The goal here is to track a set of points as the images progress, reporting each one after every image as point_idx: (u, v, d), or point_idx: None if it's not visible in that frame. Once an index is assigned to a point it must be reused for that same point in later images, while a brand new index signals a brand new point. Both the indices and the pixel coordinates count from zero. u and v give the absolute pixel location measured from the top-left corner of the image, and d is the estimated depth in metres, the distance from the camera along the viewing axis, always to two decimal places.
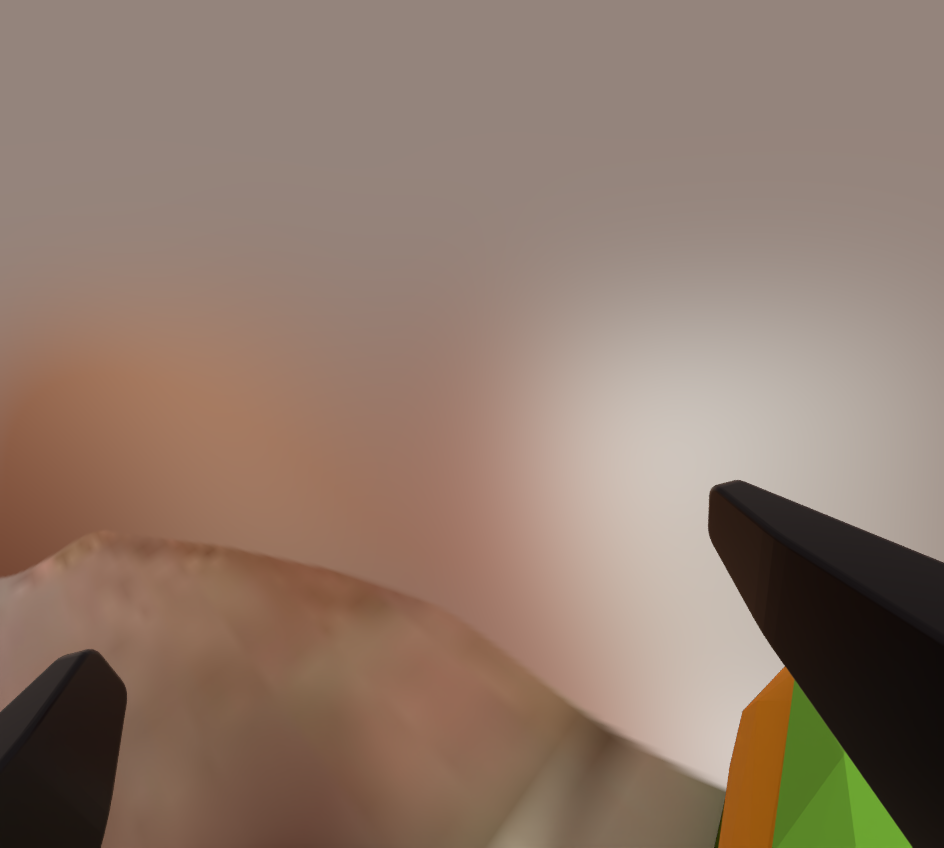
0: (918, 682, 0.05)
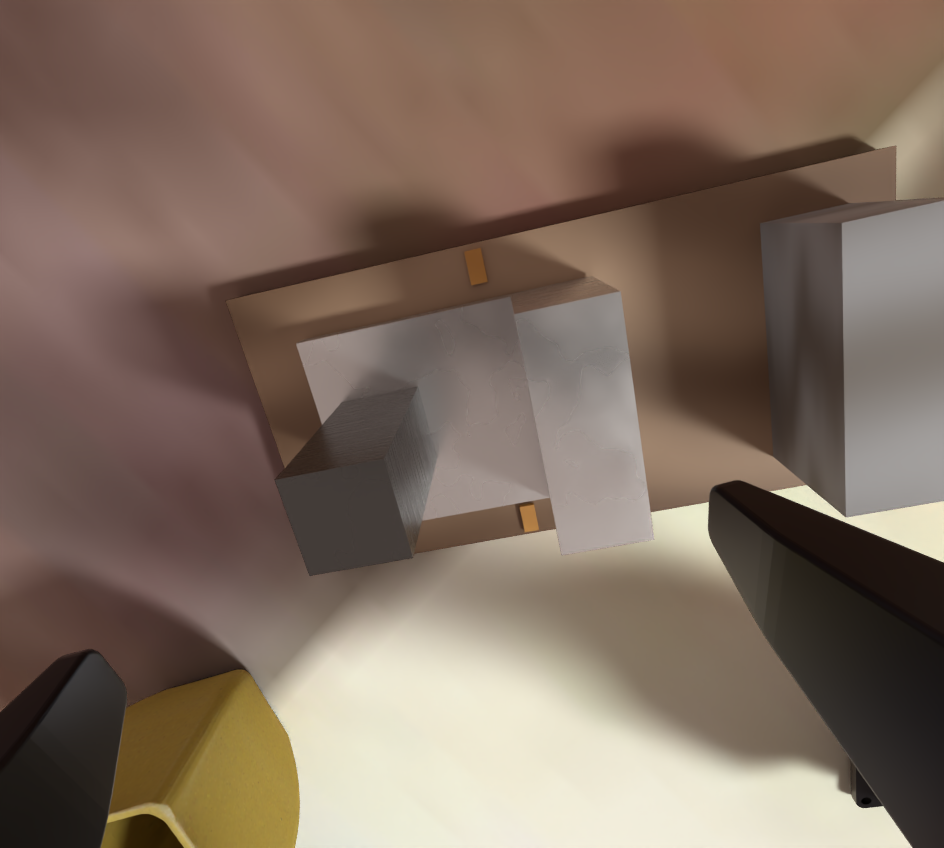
0: (919, 682, 0.05)
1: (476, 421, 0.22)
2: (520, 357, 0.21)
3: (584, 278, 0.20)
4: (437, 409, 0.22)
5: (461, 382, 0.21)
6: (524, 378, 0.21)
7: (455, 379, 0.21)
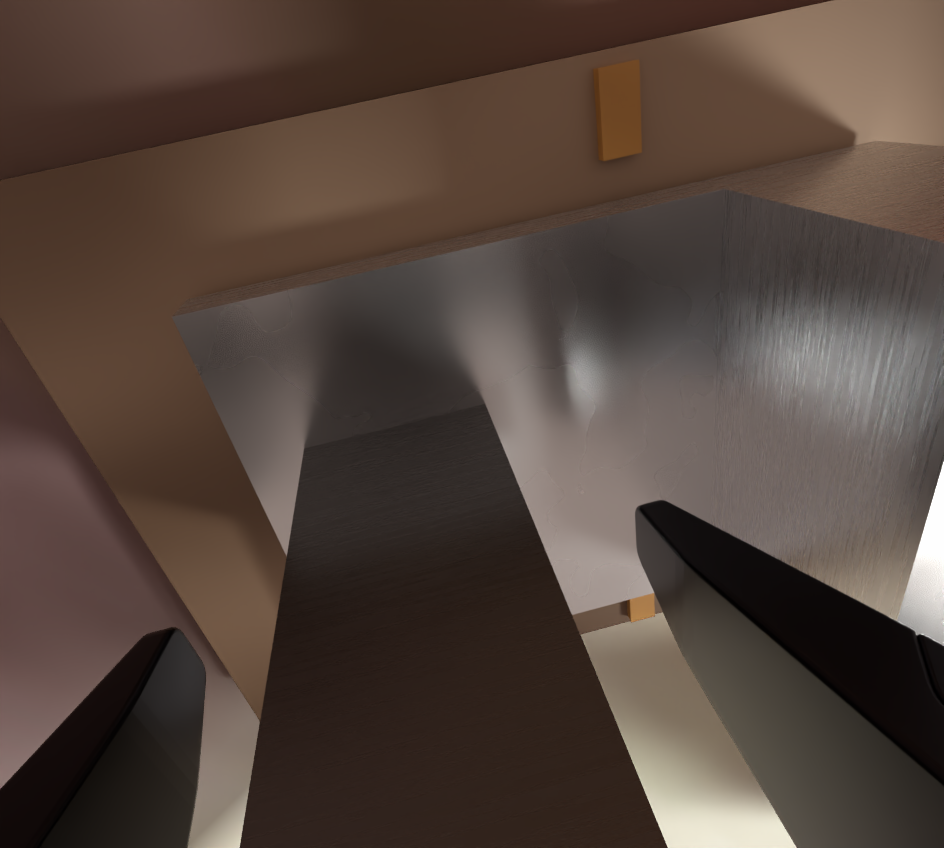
0: (805, 714, 0.05)
1: (600, 464, 0.10)
2: (714, 331, 0.09)
3: (870, 146, 0.09)
4: (523, 447, 0.10)
5: (582, 389, 0.10)
6: (712, 375, 0.10)
7: (569, 384, 0.09)
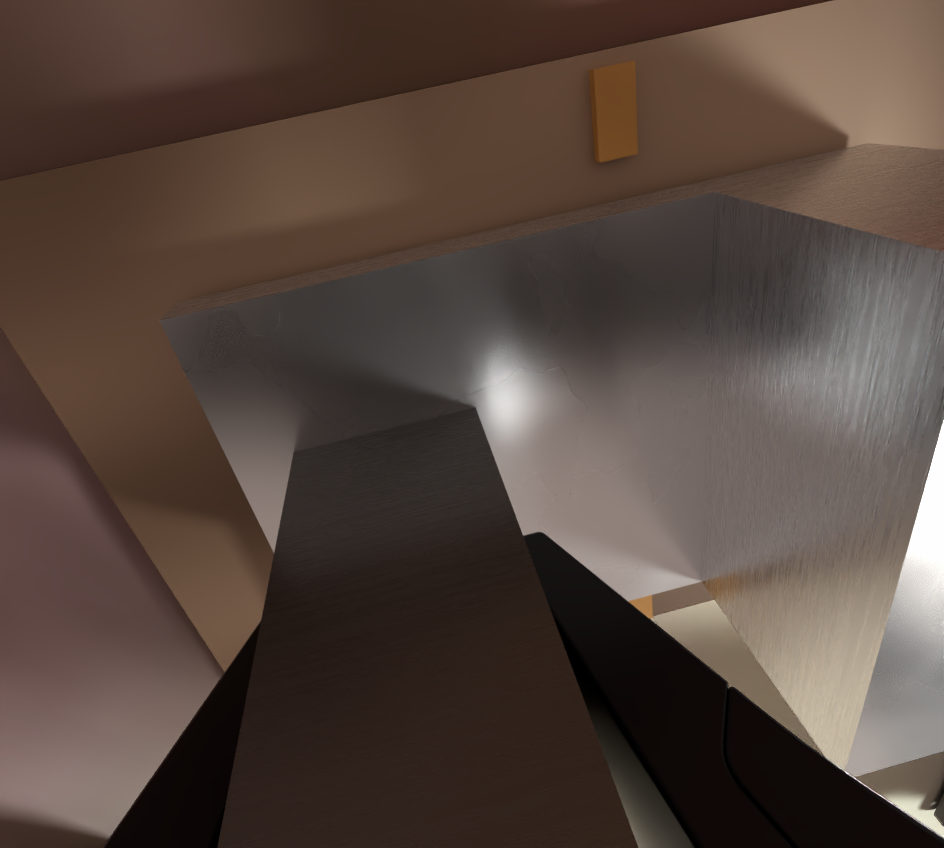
0: (623, 767, 0.05)
1: (592, 468, 0.10)
2: (705, 334, 0.09)
3: (862, 148, 0.09)
4: (514, 451, 0.10)
5: (572, 393, 0.10)
6: (704, 378, 0.10)
7: (559, 388, 0.09)
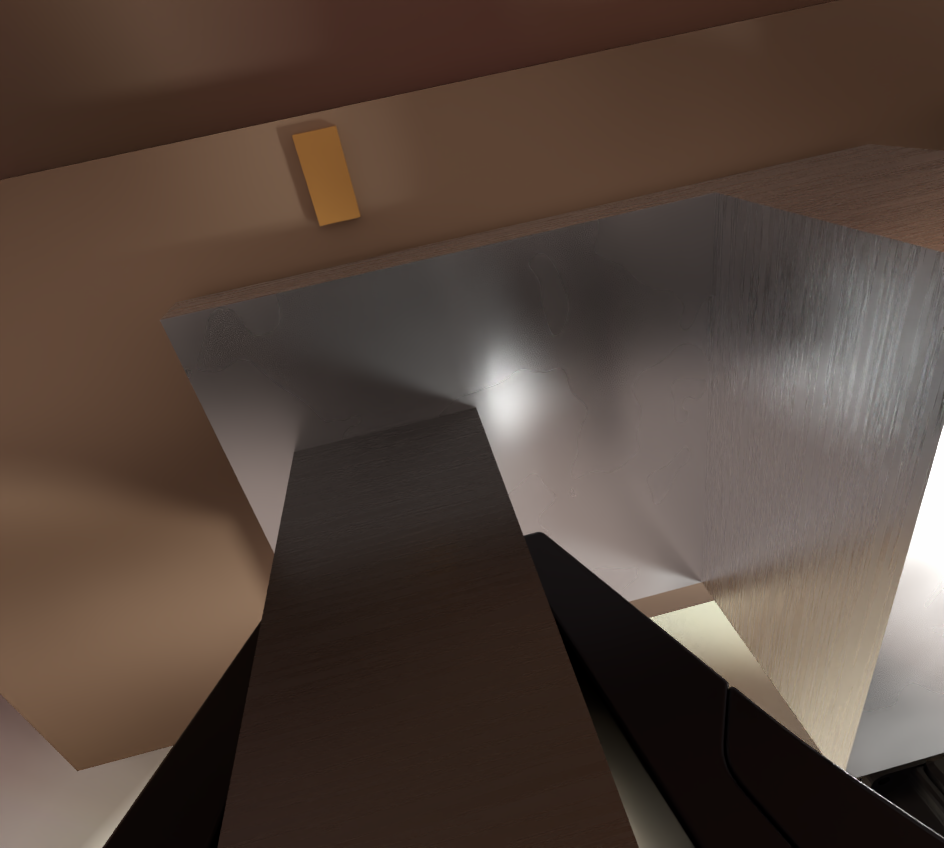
0: (623, 766, 0.05)
1: (592, 468, 0.10)
2: (706, 335, 0.09)
3: (863, 149, 0.09)
4: (514, 451, 0.10)
5: (574, 393, 0.10)
6: (704, 378, 0.10)
7: (560, 387, 0.09)
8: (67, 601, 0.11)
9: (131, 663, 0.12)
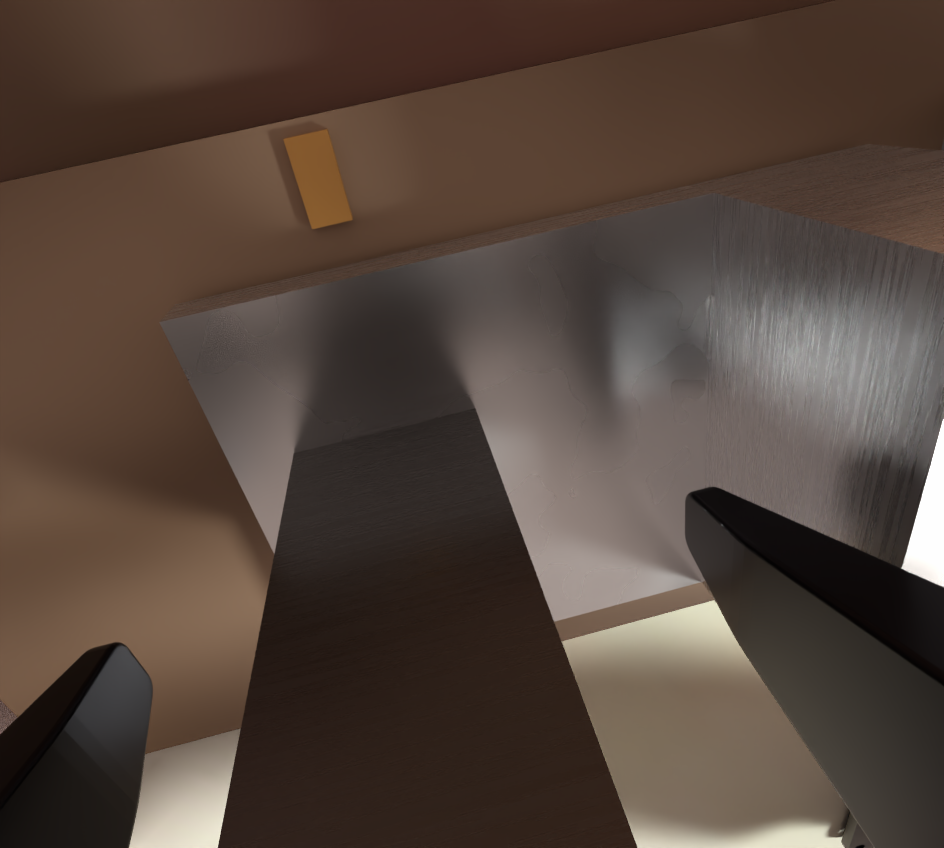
0: (881, 692, 0.05)
1: (591, 468, 0.10)
2: (705, 335, 0.09)
3: (861, 149, 0.09)
4: (514, 452, 0.10)
5: (572, 394, 0.10)
6: (704, 378, 0.10)
7: (559, 388, 0.09)
8: (62, 604, 0.11)
9: None
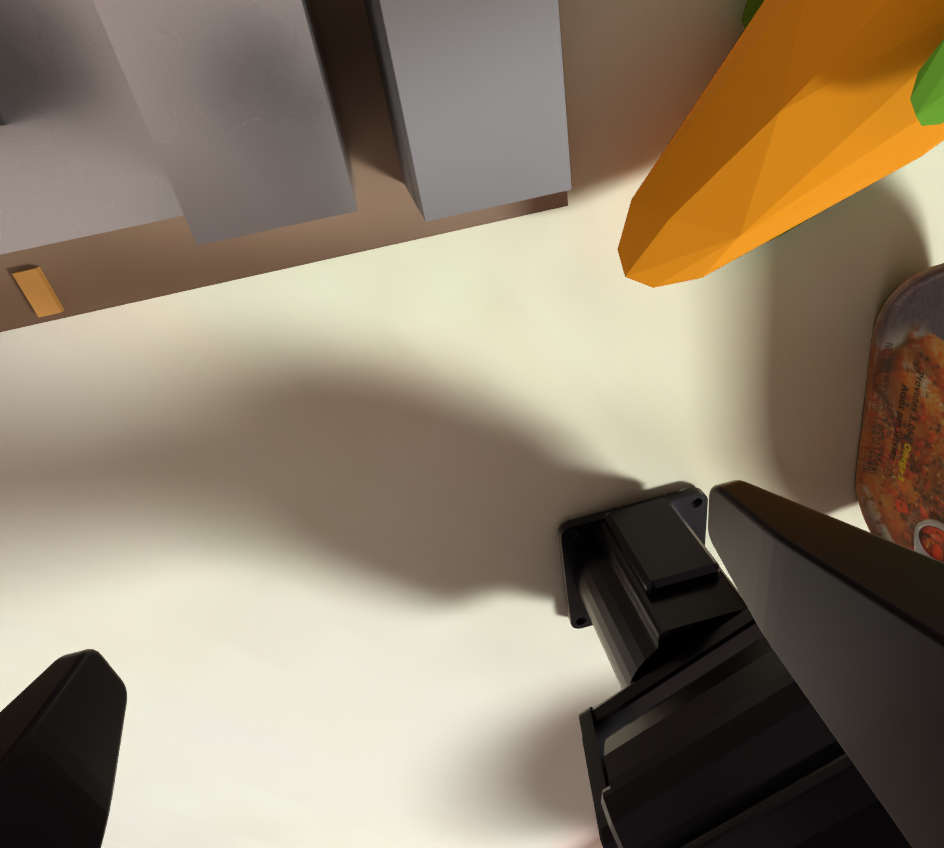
0: (919, 682, 0.05)
1: (62, 43, 0.12)
2: None
3: None
4: None
5: None
6: None
7: None
8: None
9: None
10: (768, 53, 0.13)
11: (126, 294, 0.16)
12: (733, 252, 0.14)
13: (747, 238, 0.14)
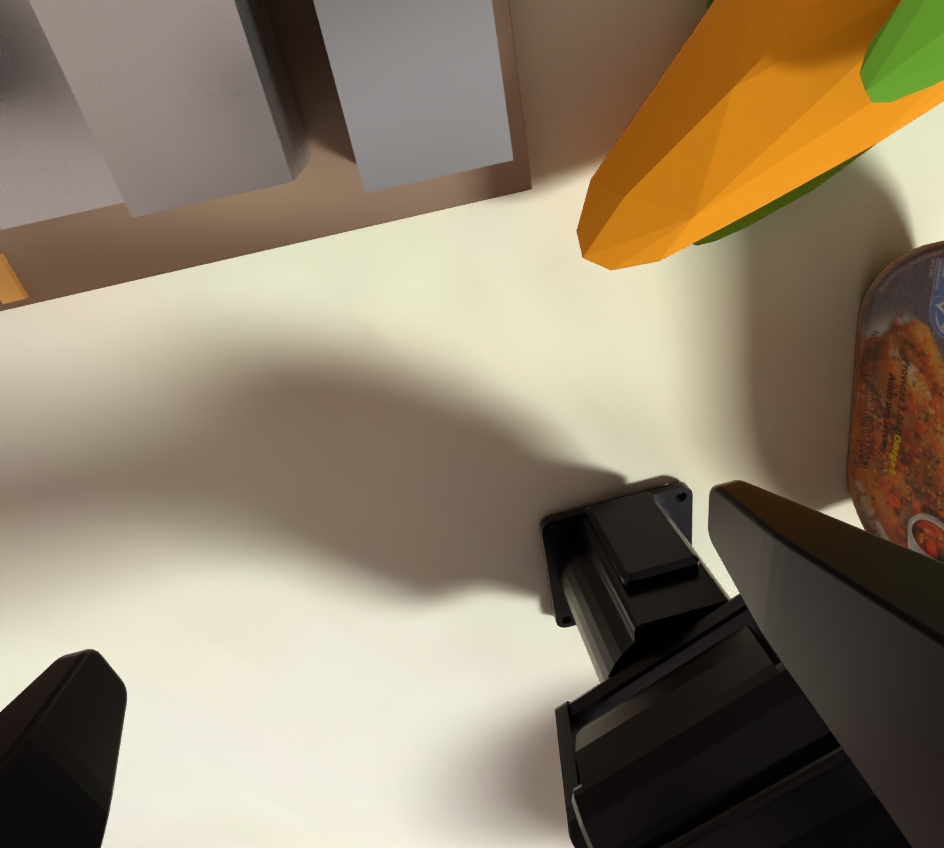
0: (918, 682, 0.05)
1: (13, 26, 0.12)
2: None
3: None
4: None
5: None
6: None
7: None
8: None
9: None
10: (725, 31, 0.13)
11: (89, 281, 0.16)
12: (690, 234, 0.14)
13: (702, 218, 0.14)
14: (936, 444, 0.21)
